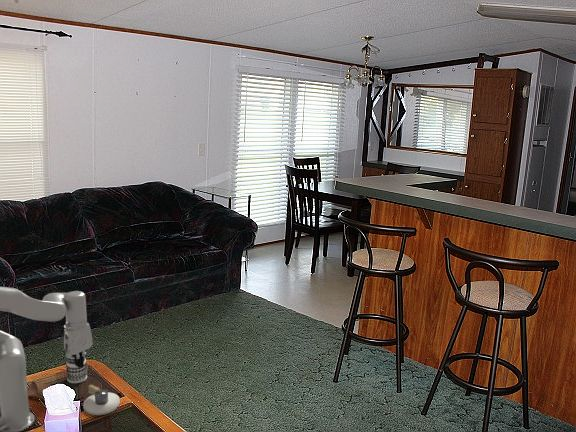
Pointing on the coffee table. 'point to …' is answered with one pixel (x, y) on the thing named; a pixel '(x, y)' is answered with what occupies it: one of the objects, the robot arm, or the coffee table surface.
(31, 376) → the coffee table surface
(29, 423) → the robot arm
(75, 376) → the grey tall cylinder
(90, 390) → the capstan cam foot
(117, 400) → the white plate
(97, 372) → the coffee table surface
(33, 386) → the sunglasses case
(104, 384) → the coffee table surface
